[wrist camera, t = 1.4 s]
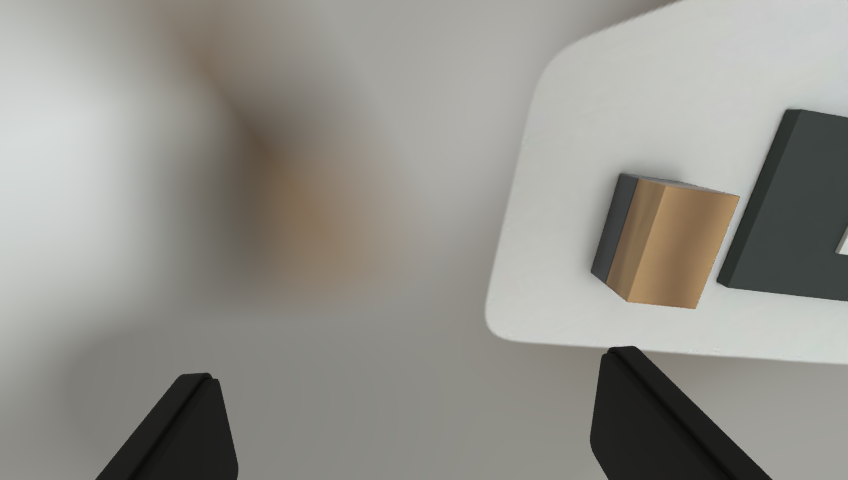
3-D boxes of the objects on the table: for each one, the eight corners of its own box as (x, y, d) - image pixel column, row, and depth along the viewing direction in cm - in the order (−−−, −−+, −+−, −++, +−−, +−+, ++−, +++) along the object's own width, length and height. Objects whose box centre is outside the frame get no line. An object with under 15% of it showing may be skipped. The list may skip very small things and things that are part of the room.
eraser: (590, 272, 27) (626, 302, 23) (619, 172, 25) (666, 185, 21) (649, 279, 28) (695, 309, 24) (683, 182, 26) (741, 196, 21)
